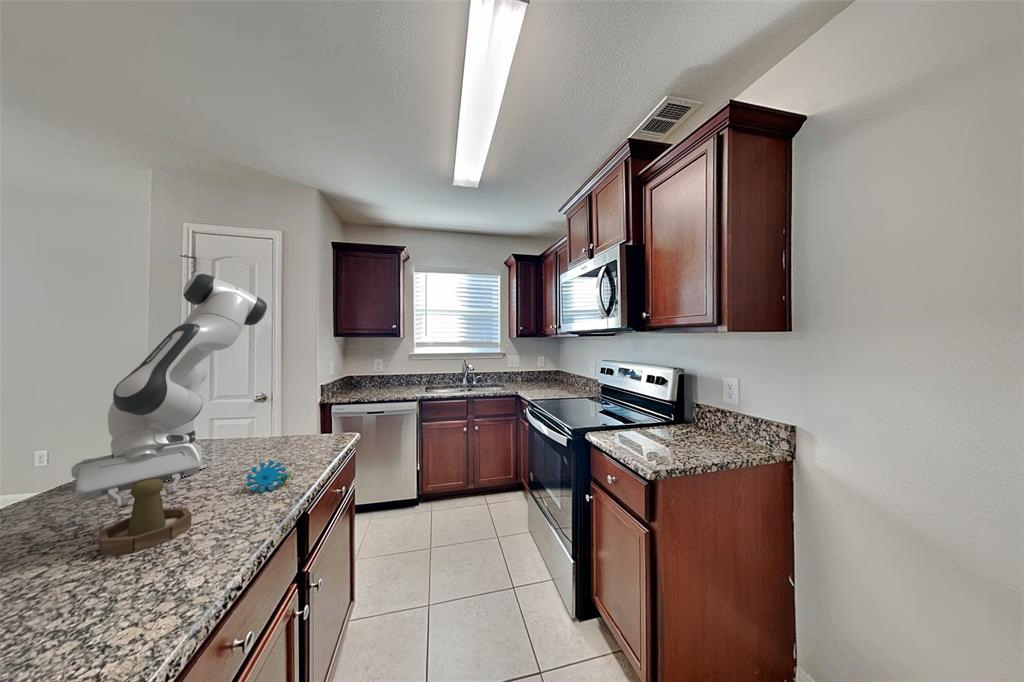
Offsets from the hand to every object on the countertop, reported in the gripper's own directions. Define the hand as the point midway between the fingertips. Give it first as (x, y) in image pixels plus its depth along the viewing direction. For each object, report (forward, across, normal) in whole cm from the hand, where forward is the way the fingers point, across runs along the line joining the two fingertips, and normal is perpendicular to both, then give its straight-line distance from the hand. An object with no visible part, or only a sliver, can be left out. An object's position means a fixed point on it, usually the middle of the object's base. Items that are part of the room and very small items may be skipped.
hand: (148, 500), depth 78 cm
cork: (+4, 0, +6) cm, 7 cm away
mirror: (+6, 0, +6) cm, 8 cm away
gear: (+1, +27, +11) cm, 29 cm away
